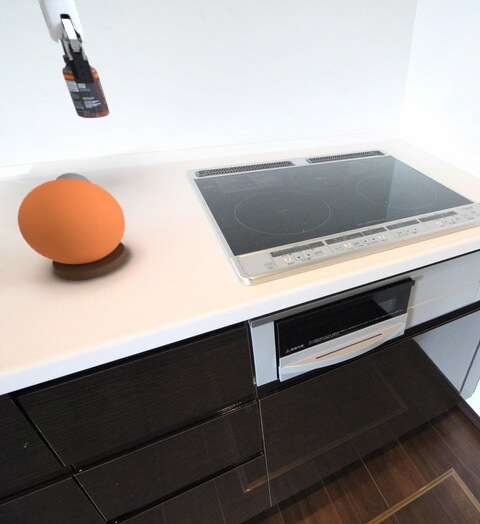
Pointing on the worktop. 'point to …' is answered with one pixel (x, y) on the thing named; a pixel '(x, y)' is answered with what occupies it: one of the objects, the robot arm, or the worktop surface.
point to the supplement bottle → (86, 94)
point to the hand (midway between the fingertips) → (82, 79)
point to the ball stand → (74, 227)
